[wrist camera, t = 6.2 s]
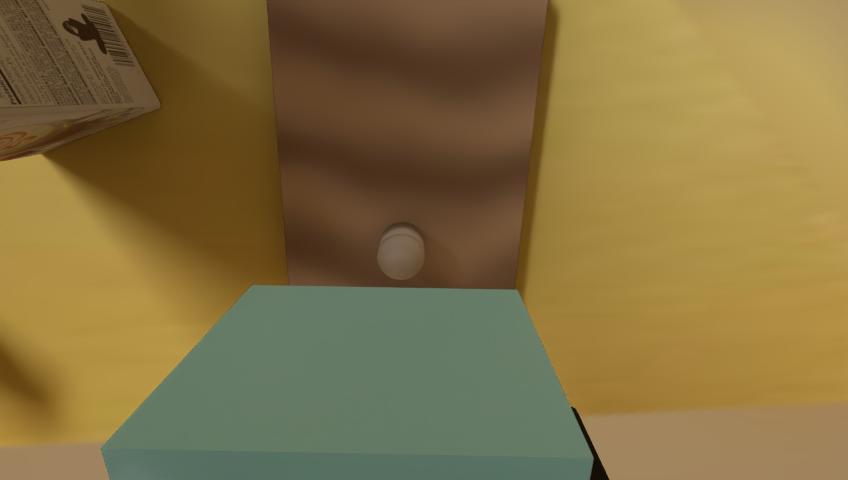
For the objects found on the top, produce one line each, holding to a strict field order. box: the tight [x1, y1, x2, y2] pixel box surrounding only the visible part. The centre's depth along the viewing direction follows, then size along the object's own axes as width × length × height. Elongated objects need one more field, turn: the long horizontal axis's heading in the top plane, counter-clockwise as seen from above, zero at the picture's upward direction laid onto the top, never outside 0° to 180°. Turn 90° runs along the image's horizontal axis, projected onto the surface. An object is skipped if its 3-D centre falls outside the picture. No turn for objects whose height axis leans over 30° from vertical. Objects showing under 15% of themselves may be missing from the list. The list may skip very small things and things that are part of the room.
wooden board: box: [267, 0, 548, 290], centre depth 25 cm, size 20×15×5 cm
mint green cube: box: [101, 285, 594, 480], centre depth 9 cm, size 6×6×5 cm
